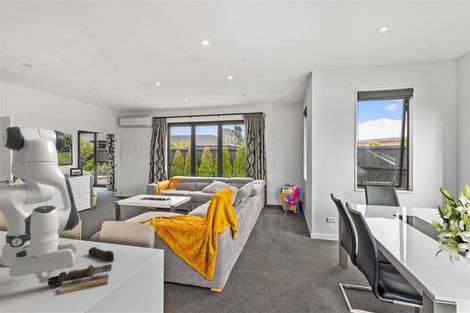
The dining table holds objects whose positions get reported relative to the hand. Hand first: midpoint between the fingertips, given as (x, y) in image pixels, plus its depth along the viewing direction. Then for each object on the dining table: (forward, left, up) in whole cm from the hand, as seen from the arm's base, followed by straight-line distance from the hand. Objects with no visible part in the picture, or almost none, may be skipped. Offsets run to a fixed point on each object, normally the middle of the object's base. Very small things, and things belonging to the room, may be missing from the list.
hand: (44, 281), depth 86 cm
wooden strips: (0, +15, -2) cm, 15 cm away
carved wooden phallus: (-21, +18, -3) cm, 28 cm away
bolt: (0, +9, -2) cm, 9 cm away
